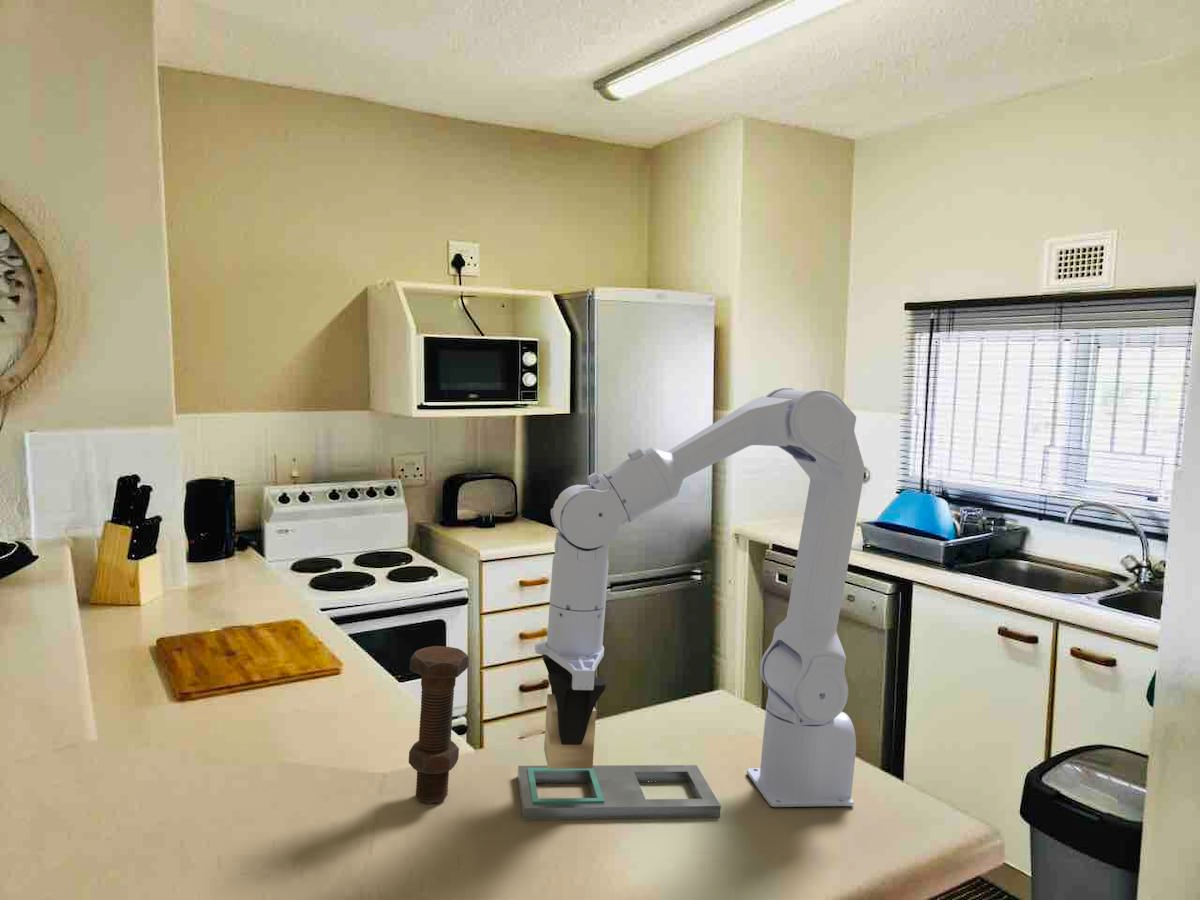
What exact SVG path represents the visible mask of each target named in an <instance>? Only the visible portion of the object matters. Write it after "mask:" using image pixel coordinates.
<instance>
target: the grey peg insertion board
mask: <svg viewBox="0 0 1200 900" xmlns="http://www.w3.org/2000/svg"><path fill="white" fill-rule="evenodd" d="M648 781H649V782H648ZM651 781H652V782H651ZM655 781H656V782H655ZM517 782H518V789H519V796H520V805H521V810H522V811H521V813H522V819H523V821H543V820H544V821H545V820H546V821H549V820H550V821H553V820H554V821H555V820H557V821H558V820H559V821H560V820H562V821H565V820H566V821H567V820H616V819H617V820H619V819H622V820H623V819H628V820H629V819H630V820H631V819H687V818H688V819H691V818H693V819H696V818H697V819H699V818H700V819H701V818H703V819H704V818H721V807H722V806H721V804H720V802H719V800H718V799H717V797H716V795H715V794H714V792H713V790H712V788H711V786H710V785H709V783H708V782H707V780H706V779H705V777H704V775H703V774H702V772H701V770H700V768H699V767H698V765H697V764H692V765H691V764H689V765H688V764H685V765H684V764H681V765H680V764H679V765H677V764H662V765H661V764H660V765H659V764H654V765H653V764H651V765H650V764H648V765H646V764H645V765H644V764H643V765H640V764H639V765H637V764H636V765H632V764H631V765H629V764H628V765H616V764H615V765H609V764H607V765H603V764H602V765H593V768H585V769H548V765H518V767H517ZM540 782H545V783H544V784H559V783H560V784H567V783H568V784H572V783H573V784H577V783H578V784H581V783H582V784H583V783H587V784H588V787H589V791H590V794H591V797H576V798H575V797H570V798H569V797H568V798H567V797H565V798H562V797H560V798H558V797H557V798H555V797H554V798H550V797H549V798H547V797H546V798H539V795H538V794H539V793H538V789H537V784H541V783H540ZM548 782H549V783H548ZM640 783H686V784H687V785H688V788H689V789H690V792H691V794H692V796H693V797H694V798H658V799H657V798H656V799H655V798H654V799H653V798H649V799H647V798H646V796H645V794H644V792H643V789H642V788H641V785H640Z"/></svg>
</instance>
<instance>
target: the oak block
mask: <svg viewBox="0 0 1200 900" xmlns="http://www.w3.org/2000/svg"><path fill="white" fill-rule="evenodd" d="M596 718H597V709H596V707H595V706H594V708H593V711H592V714H591V717H590V720H589V723H588V727H587V730H586V733H585V737H584V739H583V742H582V744H581V745H562V744H561V740H560V735H559V727H558V712H557V704H556V699H555V695H554V694H552V693H547V694H546V712H545V725H544V726H545V727H544V743H543V745H544V746H543V751H544V756H545V761H546V764H547V765H546V766H548V769H585V768H593V766H594V753H595V752H594V750H595V737H596V736H595V735H596Z"/></svg>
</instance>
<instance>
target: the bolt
mask: <svg viewBox="0 0 1200 900" xmlns="http://www.w3.org/2000/svg"><path fill="white" fill-rule="evenodd" d="M469 658H470V657H469V655H468V654H467V653H466V652H465V651H464V650H462V649H460V648H457V647H452V646H443V645H433V646H427V647H423V648H420V649H417V650H415V652H414V653H413V654H412V656H411V657H410V659H409V671H411V672H413V673H415V674H417V675H419V676H421V677H420V678H421V679H420V680H421V681H420V683H421V684H420V685H421V691H420V694H421V696H420V700H421V701H420V713H419V714H420V717H419V719H420V720H419V731H418V732H419V733H418V741H416V742H414V744H413V745H412V746H411V748H410V750H409V752H408V764H409V765H410V766H411V767H412V768H413V769H414V770H415V771H416V783H415V784H416V785H415V786H416V787H415V798H416V799H417V800H419V802H422V803H427V804H437V803H441V802H443V801H444V800H445V799H446V798H447V796H448V795H449V794H448V793H449V776H450V773H449V772H450V771H451V770H452V769H453V768H454V767H455V766H456V765H457V762H458V760H459V753H460V752H459V751H460V748H459V747H458V745H457V744H456V743H455V742H454V741H452V727H453V725H452V724H453V712H454V697H455V696H454V695H455V693H454V692H455V687H456V681H457V680H456V679H457V678H458V677H459V676H460V675H461V674H462V673H464V672H465V671H466V670H468V668H469Z"/></svg>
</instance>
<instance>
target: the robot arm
mask: <svg viewBox="0 0 1200 900" xmlns="http://www.w3.org/2000/svg"><path fill="white" fill-rule="evenodd" d="M856 421H857V416H856V415H855V413H854V412H853V411H852V409H850V408H849V407H848V405H847V404H846V403H845V402H844V401H843V399H842V398H840V397H839V395H837V394H835V393H834V392H832V391H829V390H827V389H813V390H806V389H805V390H804V389H794V388H791V387H781V388H780V387H779V388H777V389H774V390H772V391H770V392H769V393H768V394H767V395H766V396H759V397H757V398H754V399H752V400H749V401H748V402H747V403H745V404H743V405H742V406H740V407H738V408H737V409H735V410H734V411H731V412H730V413H728V414H727V415H725V416H723V417H722V418H720V419H719V420H717V421H715V422H713V423H712V424H711V425H708V426H707V427H705V428H703V429H702V430H701V431H699V432H697V433H695V434H694V435H692V436H691V437H689V438H687V439H685V440H684V441H682V442H681V443H678V444H677V445H675V446H674V447H672V448H671V449H669V450H667V451H665V450H661V449H658V448H656V447H648V448H646V449H645V450H644V449H641V448H639V447H636V448H633V449H632V450H630V451H628V452H627V456H628V459H626V460H624V461H623V462H620V463H619V464H617V465H615V466H613V467H611V468H609V469H608V470H606V471H605V472H603V473H601V474H599V473H597V472H593V473H591V474H590V475H589V474H588V475H587V480H588V482H589V485H587V484H575V485H574V484H573V485H571V486H568V487H567V488H565V489H564V490H562V491H561V492H560V493H559V495H558V497H557V499H555V500H554V504H553V507H552V508H551V509H550V516H551V517H550V518H551V521H552V524H553V525H554V527H555V529H556V530H557V531H558V532H556V533H555V540H554V555H553V558H552V567H551V578H550V579H551V581H550V593H549V609H548V622H547V624H548V625H547V638H546V641H537V642H535V644H534V651H535V653H536V654H537V655H541V658H542V661H543V663H544V665H545V668H546V670H547V679H548V682H549V685H550V687H551V694H554V695H555V699H556V704H557V712H558V727H559V735H560V740H561V744H562V745H581V744H582V742H583V739H584V737H585V733H586V730H587V727H588V723H589V720H590V717H591V714H592V711H593V708H594V707H595V706H596V705H597V703H598V700H599V699H600V697H601V696H602V694H603V693H604V692H605V689H606V687H607V681H606V680H605V678H604V677H596V675H595V674H596V669H597V668H598V666H599V664H600V662H601V661H602V659H603V658H604V654H605V647H604V643H603V642H604V631H605V629H604V628H605V619H606V618H605V617H606V603H607V592H608V591H607V590H608V577H609V565H610V563H609V551H610V549H609V547H610V544H611V543H612V541H614V539H615V537H616V536H617V534H618V531H619V529H620V526H626V525H628V524H629V523H631V522H633V521H634V520H636V519H638V518H640V517H642V516H644V515H647V514H648V513H649V512H651V511H652V510H655V509H656V508H659V507H660V506H663V504H665V503H668V502H669V501H671V500H672V499H674V498H676V497H678V495H679V493H680V489H681V487H682V484H683V481H684V479H686V478H688V477H690V476H692V475H694V474H696V473H698V472H700V471H702V470H703V469H706V468H708V467H710V466H713V465H714V464H716V463H718V462H720V461H723V459H726V458H728V457H730V456H733V455H734V454H736V453H738V452H740V451H742V450H745V449H746V448H748V447H750V446H764V447H765V446H766V447H767V446H770V447H779V449H781V450H783V451H784V452H786V453H788V454H789V455H791V457H792V458H793V459H794V460H795V461H796V463H797V464H798V465H799V466H800V467H801V469H802V470H803V471H804V473H806V475H807V476H808V478H809V483H808V484H809V485H808V489H807V490H808V492H807V498H806V503H805V509H804V513H803V514H804V515H803V520H802V525H801V526H802V527H801V531H800V535H799V536H800V537H799V541H798V549H797V554H796V560H795V565H794V566H795V567H794V572H793V577H792V583H791V588H790V589H791V590H790V595H789V601H788V608H787V612H786V618H784V619H783V621H781V622H780V623H779V624H778V625H777V626H776V627H775V628H774V630H773V637H772V640H771V643H770V645H769V646H768V648H767V649H766V650H765V652H764V654H763V655H762V657H761V660H760V665H759V666H760V667H759V670H760V676H761V679H762V681H763V683H764V684H765V686H767V687H768V690H767V691H768V692H767V699H766V707H765V716H764V717H765V718H764V727H763V736H762V749H761V757H760V758H761V760H760V767H750V768H747V769H746V774H747V775H748V776H749V778H750V779H751V781H752V782H753V784H754V785H755V786H756V788H757V790H758V791H759V792H760V794H761V796H763V798H764V799H765V801H766V802H767V804H768V805H769V806H770V807H773V808H785V807H787V808H789V807H793V808H795V807H799V808H800V807H803V808H804V807H853V806H855V805H854V804H855V801H854V799H853V798H852V794H853V791H852V790H853V783H854V771H855V762H856V752H857V739H856V737H857V736H856V731H855V727H854V724H853V722H852V719H851V718H850V717H849V715H848V714H847V713H846V712H844V711H843V710H844V708H845V706H846V704H847V702H848V698H849V685H848V682H847V679H846V673H845V672H846V671H845V669H846V662H847V656H846V653H845V651H844V648H843V644H842V642H841V640H840V638H839V635H838V631H837V629H838V623H839V619H840V613H841V607H842V602H843V594H844V590H845V583H846V579H847V573H848V567H849V562H850V558H851V557H850V556H851V550H852V545H853V539H854V533H855V529H856V522H857V517H858V510H859V506H860V501H861V500H860V499H861V495H862V494H861V493H862V491H863V490H862V488H863V484H864V478H865V464H864V461H863V460H864V459H863V456H862V452H861V450H860V446H859V443H858V440H857V436H856V433H855V428H856Z"/></svg>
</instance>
